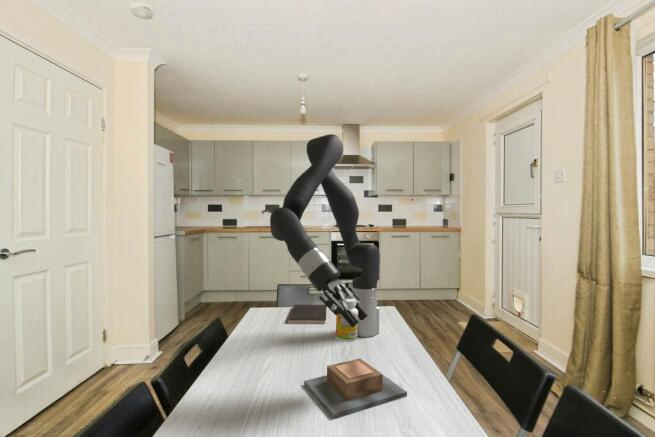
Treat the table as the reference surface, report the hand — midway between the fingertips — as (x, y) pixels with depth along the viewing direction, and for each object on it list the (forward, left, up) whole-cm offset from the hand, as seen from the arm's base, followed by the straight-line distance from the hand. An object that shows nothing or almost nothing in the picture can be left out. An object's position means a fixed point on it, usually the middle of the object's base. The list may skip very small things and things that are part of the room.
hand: (360, 321), depth 80 cm
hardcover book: (-14, -64, -18) cm, 68 cm away
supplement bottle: (+2, -3, -5) cm, 6 cm away
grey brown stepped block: (+1, -1, -17) cm, 17 cm away
